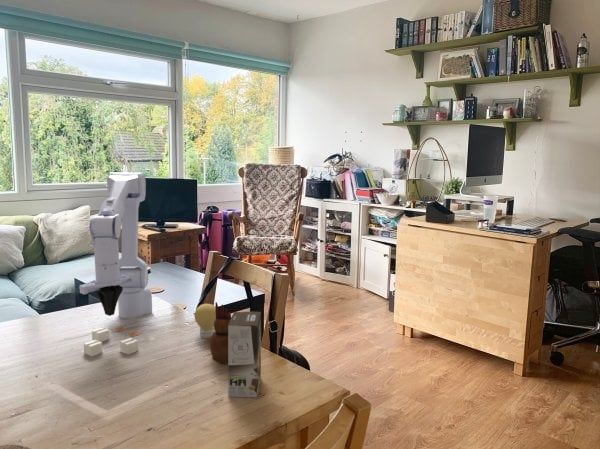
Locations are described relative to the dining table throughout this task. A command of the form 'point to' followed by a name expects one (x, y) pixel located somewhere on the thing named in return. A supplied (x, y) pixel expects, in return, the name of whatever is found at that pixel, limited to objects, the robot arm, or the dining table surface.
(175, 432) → the dining table surface
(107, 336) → the slider
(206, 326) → the light bulb
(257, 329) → the coffee box
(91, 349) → the slider middle
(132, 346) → the slider
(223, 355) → the wooden figurine
